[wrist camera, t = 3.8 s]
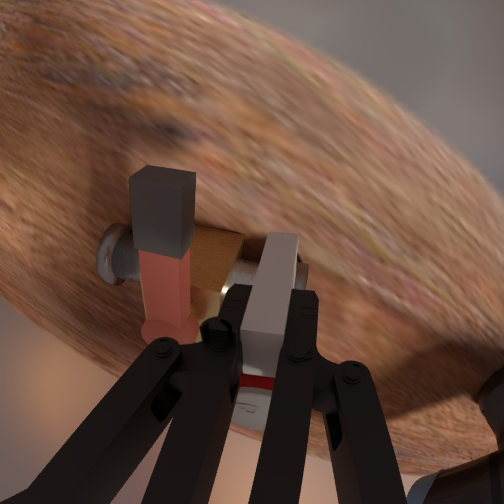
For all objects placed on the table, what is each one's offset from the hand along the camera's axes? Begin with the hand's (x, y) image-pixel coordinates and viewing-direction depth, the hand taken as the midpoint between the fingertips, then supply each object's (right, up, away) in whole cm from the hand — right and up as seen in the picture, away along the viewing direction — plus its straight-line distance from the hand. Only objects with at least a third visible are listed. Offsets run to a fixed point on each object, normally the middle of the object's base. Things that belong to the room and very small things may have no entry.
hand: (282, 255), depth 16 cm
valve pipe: (-6, 0, +14) cm, 16 cm away
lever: (-7, -1, +4) cm, 8 cm away
